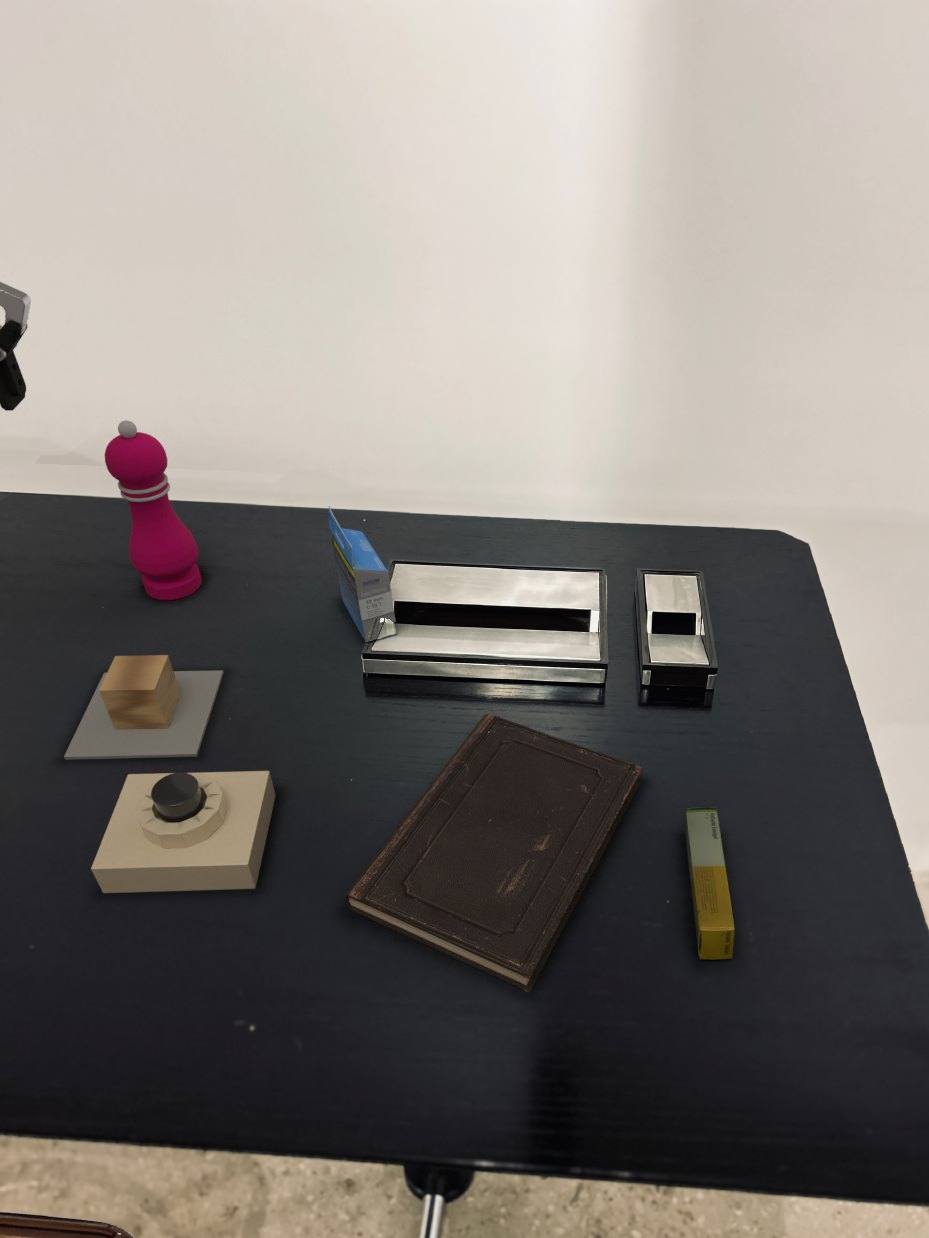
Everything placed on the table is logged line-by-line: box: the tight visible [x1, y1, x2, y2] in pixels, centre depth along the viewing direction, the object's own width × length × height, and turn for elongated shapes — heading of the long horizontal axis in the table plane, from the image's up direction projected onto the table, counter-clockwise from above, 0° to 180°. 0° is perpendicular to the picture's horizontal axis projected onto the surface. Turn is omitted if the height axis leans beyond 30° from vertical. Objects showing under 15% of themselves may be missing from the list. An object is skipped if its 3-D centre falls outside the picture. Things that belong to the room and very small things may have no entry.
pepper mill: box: [104, 420, 202, 601], centre depth 95 cm, size 7×7×20 cm
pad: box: [63, 669, 225, 761], centre depth 85 cm, size 12×12×1 cm
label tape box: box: [328, 505, 396, 643], centre depth 93 cm, size 9×4×12 cm, turn 25°
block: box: [99, 654, 181, 729], centre depth 83 cm, size 5×5×5 cm
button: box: [151, 772, 204, 823], centre depth 70 cm, size 4×4×2 cm
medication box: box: [685, 806, 736, 961], centre depth 69 cm, size 12×3×4 cm, turn 177°
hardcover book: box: [344, 713, 643, 994], centre depth 73 cm, size 16×23×2 cm
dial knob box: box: [90, 770, 277, 894], centre depth 72 cm, size 12×10×5 cm
